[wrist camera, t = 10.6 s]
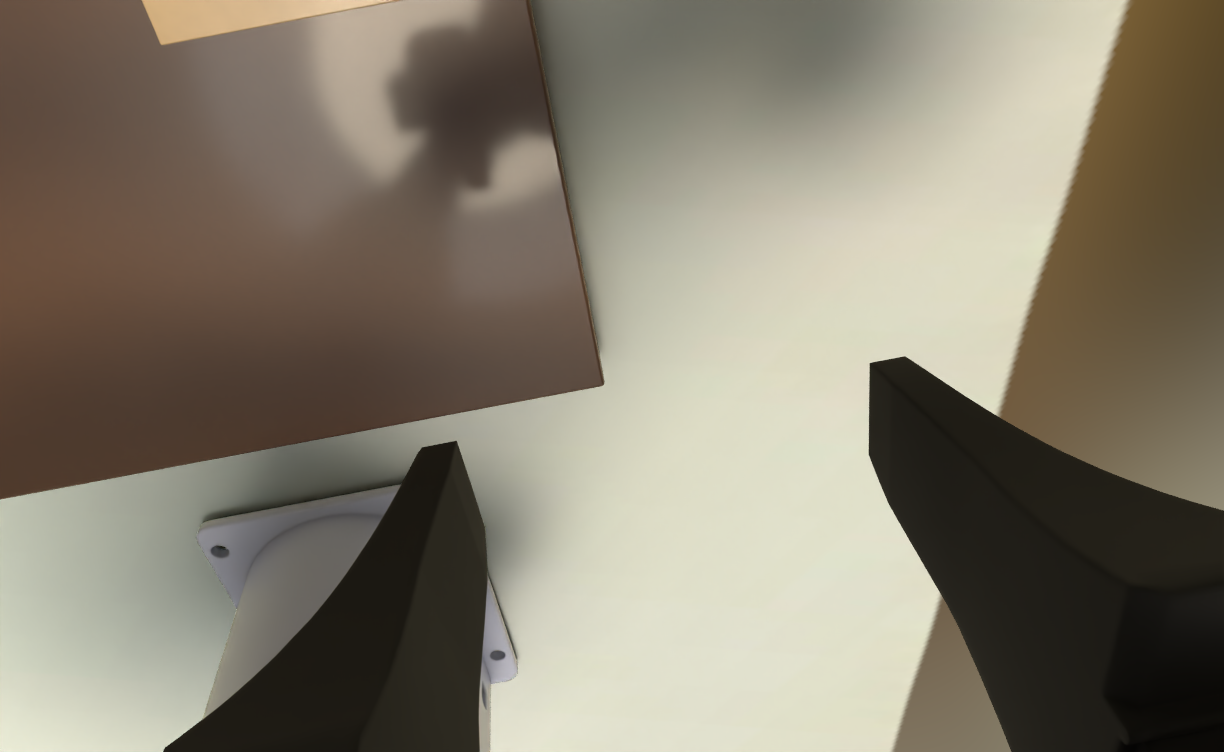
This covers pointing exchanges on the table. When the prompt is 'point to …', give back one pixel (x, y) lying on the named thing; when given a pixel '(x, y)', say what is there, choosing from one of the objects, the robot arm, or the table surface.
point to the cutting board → (273, 227)
